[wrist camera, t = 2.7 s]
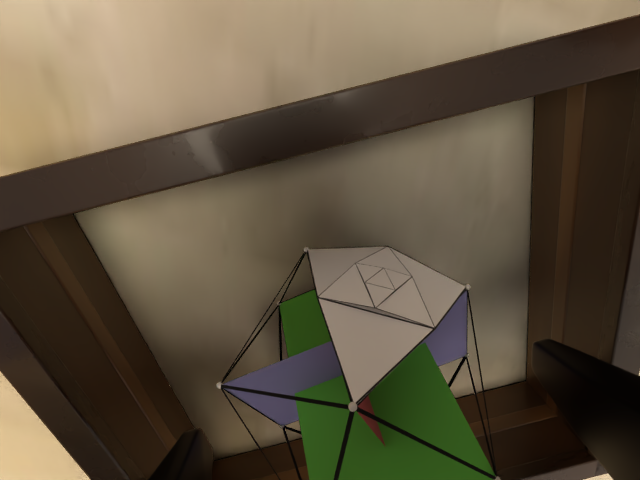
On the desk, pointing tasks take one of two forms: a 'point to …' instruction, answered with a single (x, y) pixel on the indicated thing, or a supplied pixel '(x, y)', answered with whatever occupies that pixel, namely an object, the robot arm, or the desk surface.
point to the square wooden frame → (311, 136)
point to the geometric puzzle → (371, 371)
